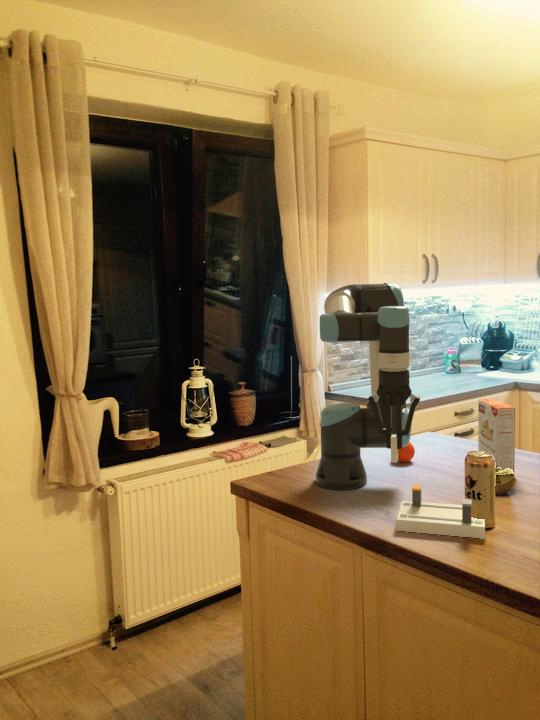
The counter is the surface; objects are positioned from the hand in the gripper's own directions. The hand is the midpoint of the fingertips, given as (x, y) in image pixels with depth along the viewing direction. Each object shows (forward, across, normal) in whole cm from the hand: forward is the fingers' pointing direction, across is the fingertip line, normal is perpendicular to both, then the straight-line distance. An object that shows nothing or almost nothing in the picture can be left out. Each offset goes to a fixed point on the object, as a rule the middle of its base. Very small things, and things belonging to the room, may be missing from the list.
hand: (394, 460), depth 159 cm
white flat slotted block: (+14, +12, -4) cm, 19 cm away
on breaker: (+11, +18, -9) cm, 22 cm away
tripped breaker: (+11, +6, 0) cm, 12 cm away
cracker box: (+15, +26, +44) cm, 53 cm away
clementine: (+15, -2, +47) cm, 49 cm away
